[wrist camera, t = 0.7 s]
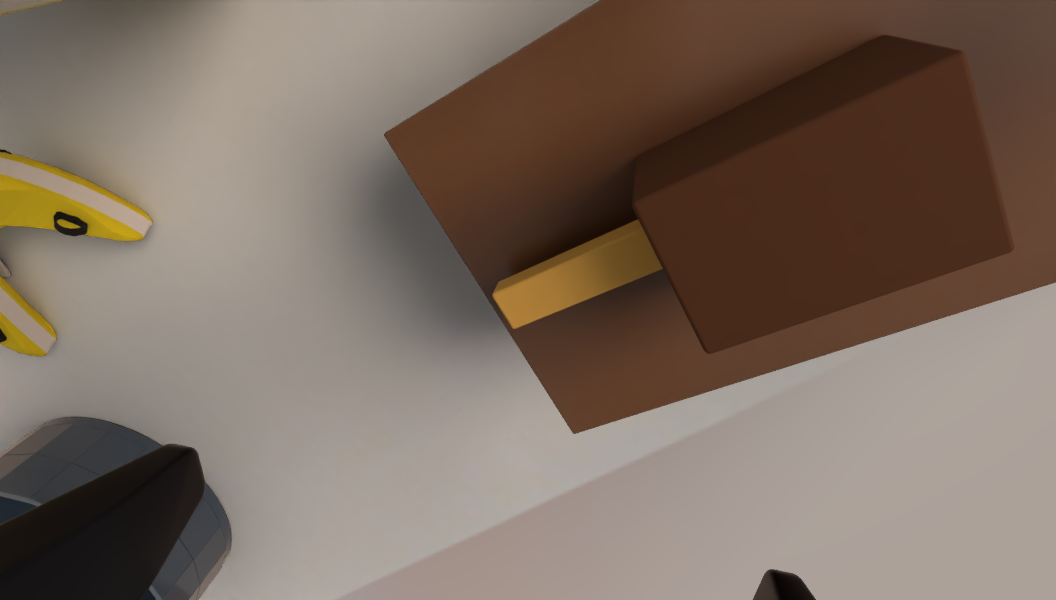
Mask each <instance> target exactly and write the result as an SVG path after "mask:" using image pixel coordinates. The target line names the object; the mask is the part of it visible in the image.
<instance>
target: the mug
mask: <svg viewBox="0 0 1056 600" xmlns="http://www.w3.org/2000/svg"><path fill="white" fill-rule="evenodd" d="M59 1H63V0H0V15H4V14H8V13H13V12H17V11H21V10H25V9H30V8H34V7H38V6H42V5H47V4H51V3H55V2H59Z"/></svg>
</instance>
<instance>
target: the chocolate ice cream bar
mask: <svg viewBox="0 0 1056 600" xmlns="http://www.w3.org/2000/svg"><path fill="white" fill-rule="evenodd" d="M632 208H633V210H634V212H635V214H636V216H637V218H638V220H635V221H633V222H631V223H629V224H626V225H624V226H622V227H620V228H617V229H615V230H613V231H611V232H609V233H606V234H604V235H602V236H600V237H597V238H595V239H593V240H591V241H588V242H586V243H584V244H582V245H580V246H577V247H575V248H573V249H571V250H568V251H566V252H564V253H562V254H560V255H557V256H555V257H553V258H551V259H548V260H546V261H544V262H542V263H539V264H537V265H535V266H533V267H531V268H528V269H526V270H524V271H522V272H519V273H517V274H515V275H513V276H511V277H508V278H506V279H504V280H502V281H499V282H498V284H497V286H496V288H495V290H494V292H493V294H492V295H493V298H494V300H495V301H496V303H497V304H498V306H499V308H500V309H501V311H502V312H503V314H504V316H505V317H506V319H507V320H508V322H509V323H510V325H511V327H512V328H513V329H516V328H518V327H521V326H523V325H526V324H528V323H531V322H533V321H536V320H538V319H541V318H543V317H545V316H548V315H550V314H553V313H555V312H558V311H560V310H563V309H565V308H568V307H570V306H572V305H575V304H577V303H580V302H582V301H585V300H587V299H590V298H592V297H594V296H597V295H599V294H602V293H604V292H607V291H609V290H612V289H614V288H617V287H619V286H621V285H624V284H626V283H629V282H631V281H634V280H636V279H639V278H641V277H644V276H646V275H648V274H651V273H653V272H656V271H658V270H661V269H663V270H664V272H665V274H666V276H667V278H668V280H669V282H670V284H671V286H672V288H673V290H674V292H675V294H676V296H677V298H678V300H679V302H680V304H681V306H682V308H683V310H684V312H685V314H686V316H687V318H688V320H689V322H690V324H691V326H692V328H693V330H694V332H695V334H696V336H697V338H698V340H699V342H700V344H701V346H702V348H703V350H704V351H705V352H706V353H707V354H712V353H715V352H718V351H721V350H724V349H727V348H730V347H733V346H736V345H739V344H742V343H745V342H748V341H751V340H754V339H757V338H760V337H763V336H765V335H768V334H771V333H774V332H777V331H780V330H783V329H786V328H789V327H792V326H795V325H798V324H801V323H804V322H807V321H810V320H813V319H816V318H819V317H822V316H824V315H827V314H830V313H833V312H836V311H839V310H842V309H845V308H848V307H851V306H854V305H857V304H860V303H863V302H866V301H869V300H872V299H875V298H878V297H881V296H883V295H886V294H889V293H892V292H895V291H898V290H901V289H904V288H907V287H910V286H913V285H916V284H919V283H922V282H925V281H928V280H931V279H934V278H937V277H940V276H942V275H945V274H948V273H951V272H954V271H957V270H960V269H963V268H966V267H969V266H972V265H975V264H978V263H981V262H984V261H987V260H990V259H993V258H996V257H999V256H1001V255H1004V254H1007V253H1010V252H1012V251H1013V250H1014V243H1013V239H1012V235H1011V231H1010V227H1009V223H1008V219H1007V215H1006V211H1005V207H1004V203H1003V199H1002V195H1001V191H1000V187H999V183H998V179H997V175H996V171H995V167H994V163H993V159H992V155H991V151H990V147H989V143H988V139H987V135H986V131H985V127H984V123H983V119H982V115H981V111H980V107H979V103H978V99H977V95H976V91H975V87H974V83H973V79H972V75H971V71H970V67H969V63H968V59H967V55H966V53H965V52H964V51H963V50H958V49H953V48H949V47H944V46H939V45H934V44H930V43H925V42H920V41H915V40H911V39H906V38H901V37H896V36H892V35H882V36H880V37H878V38H876V39H874V40H872V41H870V42H868V43H866V44H864V45H861V46H859V47H857V48H855V49H853V50H851V51H849V52H847V53H845V54H843V55H841V56H839V57H837V58H835V59H833V60H831V61H829V62H827V63H825V64H823V65H821V66H819V67H817V68H815V69H813V70H811V71H809V72H807V73H805V74H803V75H801V76H799V77H797V78H795V79H792V80H790V81H788V82H786V83H784V84H782V85H780V86H778V87H776V88H774V89H772V90H770V91H768V92H766V93H764V94H762V95H760V96H758V97H756V98H754V99H752V100H750V101H748V102H746V103H744V104H742V105H740V106H738V107H736V108H734V109H732V110H730V111H728V112H726V113H723V114H721V115H719V116H717V117H715V118H713V119H711V120H709V121H707V122H705V123H703V124H701V125H699V126H697V127H695V128H693V129H691V130H689V131H687V132H685V133H683V134H681V135H679V136H677V137H675V138H673V139H671V140H669V141H667V142H665V143H663V144H661V145H659V146H657V147H654V148H652V149H650V150H648V151H646V152H644V153H642V154H640V155H638V156H637V157H636V158H635V171H634V184H633V198H632Z"/></svg>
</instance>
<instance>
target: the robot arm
mask: <svg viewBox="0 0 1056 600" xmlns="http://www.w3.org/2000/svg"><path fill="white" fill-rule="evenodd" d="M204 491H205V479H204V475H203V471H202V467H201V464H200V460H199V456H198V453H197V451H196V450H195V449H194V448H192V447H187V446H183V445H178V444H167V445H165V446H162V447H160V448H158V449H156V450H154V451H152V452H150V453H147V454H145V455H143V456H141V457H139V458H137V459H135V460H133V461H131V462H129V463H127V464H125V465H123V466H120V467H118V468H116V469H114V470H112V471H110V472H108V473H106V474H104V475H102V476H100V477H98V478H95V479H93V480H91V481H89V482H87V483H85V484H83V485H81V486H79V487H77V488H75V489H73V490H71V491H68V492H66V493H64V494H62V495H60V496H58V497H56V498H54V499H52V500H50V501H48V502H46V503H43V504H41V505H39V506H37V507H35V508H33V509H31V510H29V511H27V512H25V513H23V514H21V515H19V516H16V517H14V518H12V519H10V520H8V521H6V522H4V523H2V524H0V600H142V598H143V597H144V595H145V594H146V592H147V591H148V589H149V588H150V586H151V585H152V583H153V581H154V580H155V578H156V577H157V575H158V573H159V572H160V570H161V568H162V566H163V565H164V563H165V561H166V560H167V558H168V556H169V554H170V553H171V551H172V549H173V548H174V546H175V544H176V542H177V541H178V539H179V537H180V535H181V534H182V532H183V530H184V529H185V527H186V525H187V523H188V522H189V520H190V518H191V517H192V515H193V513H194V511H195V510H196V508H197V506H198V504H199V503H200V501H201V499H202V497H203V494H204ZM753 600H816V599H815V598H814V596H813V595H812V594H811V592H810V591H809V589H808V588H807V586H806V585H805V584H804V582H803V581H802V580H801V578H799V577H798V576H797V575H795V574H793V573H788V572H783V571H778V570H774V569H770V570H768V571H767V572H766V573H765V574H764V576H763V578H762V581H761V583H760V585H759V587H758V589H757V592H756V594H755V596H754V598H753Z"/></svg>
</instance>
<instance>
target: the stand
mask: <svg viewBox="0 0 1056 600" xmlns="http://www.w3.org/2000/svg"><path fill="white" fill-rule="evenodd" d="M882 35H892V36H896V37H901V38H906V39H911V40H915V41H920V42H925V43H930V44H934V45H939V46H944V47H949V48H953V49H958V50H963V51H964V52H965V53H966V55H967V59H968V63H969V67H970V71H971V75H972V79H973V83H974V87H975V91H976V95H977V99H978V103H979V107H980V111H981V115H982V119H983V123H984V127H985V131H986V135H987V139H988V143H989V147H990V151H991V155H992V159H993V163H994V167H995V171H996V175H997V179H998V183H999V187H1000V191H1001V195H1002V199H1003V203H1004V207H1005V211H1006V215H1007V219H1008V223H1009V227H1010V231H1011V235H1012V239H1013V243H1014V250H1013V251H1012V252H1010V253H1007V254H1004V255H1001V256H999V257H996V258H993V259H990V260H987V261H984V262H981V263H978V264H975V265H972V266H969V267H966V268H963V269H960V270H957V271H954V272H951V273H948V274H945V275H942V276H940V277H937V278H934V279H931V280H928V281H925V282H922V283H919V284H916V285H913V286H910V287H907V288H904V289H901V290H898V291H895V292H892V293H889V294H886V295H883V296H881V297H878V298H875V299H872V300H869V301H866V302H863V303H860V304H857V305H854V306H851V307H848V308H845V309H842V310H839V311H836V312H833V313H830V314H827V315H824V316H822V317H819V318H816V319H813V320H810V321H807V322H804V323H801V324H798V325H795V326H792V327H789V328H786V329H783V330H780V331H777V332H774V333H771V334H768V335H765V336H763V337H760V338H757V339H754V340H751V341H748V342H745V343H742V344H739V345H736V346H733V347H730V348H727V349H724V350H721V351H718V352H715V353H712V354H707V353H706V352H705V351H704V350H703V348H702V346H701V344H700V342H699V340H698V338H697V336H696V334H695V332H694V330H693V328H692V326H691V324H690V322H689V320H688V318H687V316H686V314H685V312H684V310H683V308H682V306H681V304H680V302H679V300H678V298H677V296H676V294H675V292H674V290H673V288H672V286H671V284H670V282H669V280H668V278H667V276H666V274H665V272H664V270H663V269H661V270H658V271H656V272H653V273H651V274H648V275H646V276H644V277H641V278H639V279H636V280H634V281H631V282H629V283H626V284H624V285H621V286H619V287H617V288H614V289H612V290H609V291H607V292H604V293H602V294H599V295H597V296H594V297H592V298H590V299H587V300H585V301H582V302H580V303H577V304H575V305H572V306H570V307H568V308H565V309H563V310H560V311H558V312H555V313H553V314H550V315H548V316H545V317H543V318H541V319H538V320H536V321H533V322H531V323H528V324H526V325H523V326H521V327H518V328H516V329H513V328H512V327H511V325H510V323H509V322H508V320H507V319H506V317H505V316H504V314H503V312H502V311H501V309H500V308H499V306H498V304H497V303H496V301H495V300H494V298H493V295H492V294H493V292H494V290H495V288H496V286H497V284H498V282H499V281H502V280H504V279H506V278H508V277H511V276H513V275H515V274H517V273H519V272H522V271H524V270H526V269H528V268H531V267H533V266H535V265H537V264H539V263H542V262H544V261H546V260H548V259H551V258H553V257H555V256H557V255H560V254H562V253H564V252H566V251H568V250H571V249H573V248H575V247H577V246H580V245H582V244H584V243H586V242H588V241H591V240H593V239H595V238H597V237H600V236H602V235H604V234H606V233H609V232H611V231H613V230H615V229H617V228H620V227H622V226H624V225H626V224H629V223H631V222H633V221H635V220H638V218H637V216H636V214H635V212H634V210H633V208H632V198H633V184H634V171H635V158H636V157H637V156H638V155H640V154H642V153H644V152H646V151H648V150H650V149H652V148H654V147H657V146H659V145H661V144H663V143H665V142H667V141H669V140H671V139H673V138H675V137H677V136H679V135H681V134H683V133H685V132H687V131H689V130H691V129H693V128H695V127H697V126H699V125H701V124H703V123H705V122H707V121H709V120H711V119H713V118H715V117H717V116H719V115H721V114H723V113H726V112H728V111H730V110H732V109H734V108H736V107H738V106H740V105H742V104H744V103H746V102H748V101H750V100H752V99H754V98H756V97H758V96H760V95H762V94H764V93H766V92H768V91H770V90H772V89H774V88H776V87H778V86H780V85H782V84H784V83H786V82H788V81H790V80H792V79H795V78H797V77H799V76H801V75H803V74H805V73H807V72H809V71H811V70H813V69H815V68H817V67H819V66H821V65H823V64H825V63H827V62H829V61H831V60H833V59H835V58H837V57H839V56H841V55H843V54H845V53H847V52H849V51H851V50H853V49H855V48H857V47H859V46H861V45H864V44H866V43H868V42H870V41H872V40H874V39H876V38H878V37H880V36H882ZM384 136H385V138H386V139H387V141H388V143H389V144H390V146H391V147H392V149H393V150H394V152H395V154H396V155H397V157H398V158H399V160H400V161H401V163H402V165H403V166H404V168H405V169H406V171H407V172H408V174H409V176H410V177H411V179H412V180H413V182H414V184H415V185H416V187H417V188H418V190H419V191H420V193H421V195H422V196H423V198H424V199H425V201H426V202H427V204H428V206H429V207H430V209H431V210H432V212H433V213H434V215H435V217H436V218H437V220H438V221H439V223H440V224H441V226H442V228H443V229H444V231H445V232H446V234H447V235H448V237H449V239H450V240H451V242H452V243H453V245H454V247H455V248H456V250H457V251H458V253H459V254H460V256H461V258H462V259H463V261H464V262H465V264H466V265H467V267H468V269H469V270H470V272H471V273H472V275H473V276H474V278H475V280H476V281H477V283H478V284H479V286H480V287H481V289H482V291H483V292H484V294H485V295H486V297H487V299H488V300H489V302H490V303H491V305H492V306H493V308H494V310H495V311H496V313H497V314H498V316H499V317H500V319H501V321H502V322H503V324H504V325H505V327H506V328H507V330H508V332H509V333H510V335H511V336H512V338H513V339H514V341H515V343H516V344H517V346H518V347H519V349H520V351H521V352H522V354H523V355H524V357H525V358H526V360H527V362H528V363H529V365H530V366H531V368H532V369H533V371H534V373H535V374H536V376H537V377H538V379H539V380H540V382H541V384H542V385H543V387H544V388H545V390H546V391H547V393H548V395H549V396H550V398H551V399H552V401H553V403H554V404H555V406H556V407H557V409H558V410H559V412H560V414H561V415H562V417H563V418H564V420H565V421H566V423H567V425H568V426H569V428H570V429H571V431H572V432H573V434H576V433H579V432H582V431H585V430H588V429H591V428H595V427H598V426H601V425H604V424H607V423H610V422H614V421H617V420H620V419H623V418H626V417H630V416H633V415H636V414H639V413H642V412H645V411H649V410H652V409H655V408H658V407H661V406H664V405H668V404H671V403H674V402H677V401H680V400H684V399H687V398H690V397H693V396H696V395H699V394H703V393H706V392H709V391H712V390H715V389H718V388H722V387H725V386H728V385H731V384H734V383H738V382H741V381H744V380H747V379H750V378H753V377H757V376H760V375H763V374H766V373H769V372H772V371H776V370H779V369H782V368H785V367H788V366H792V365H795V364H798V363H801V362H804V361H807V360H811V359H814V358H817V357H820V356H823V355H826V354H830V353H833V352H836V351H839V350H842V349H846V348H849V347H852V346H855V345H858V344H861V343H865V342H868V341H871V340H874V339H877V338H880V337H884V336H887V335H890V334H893V333H896V332H900V331H903V330H906V329H909V328H912V327H915V326H919V325H922V324H925V323H928V322H931V321H934V320H938V319H941V318H944V317H947V316H950V315H954V314H957V313H960V312H963V311H966V310H969V309H973V308H976V307H979V306H982V305H985V304H988V303H991V302H995V301H998V300H1001V299H1004V298H1007V297H1011V296H1014V295H1017V294H1020V293H1023V292H1026V291H1029V290H1033V289H1036V288H1039V287H1042V286H1046V285H1049V284H1052V283H1055V282H1056V0H600V1H598V2H597V3H595V4H593V5H592V6H590V7H588V8H587V9H585V10H584V11H582V12H580V13H579V14H577V15H575V16H574V17H572V18H571V19H569V20H567V21H566V22H564V23H562V24H561V25H559V26H558V27H556V28H554V29H553V30H551V31H549V32H548V33H546V34H545V35H543V36H541V37H540V38H538V39H536V40H535V41H533V42H532V43H530V44H528V45H527V46H525V47H523V48H522V49H520V50H519V51H517V52H515V53H514V54H512V55H510V56H509V57H507V58H506V59H504V60H502V61H501V62H499V63H497V64H496V65H494V66H493V67H491V68H489V69H488V70H486V71H484V72H483V73H481V74H480V75H478V76H476V77H475V78H473V79H471V80H470V81H468V82H467V83H465V84H463V85H462V86H460V87H458V88H457V89H455V90H454V91H452V92H450V93H449V94H447V95H446V96H444V97H442V98H441V99H439V100H437V101H436V102H434V103H433V104H431V105H429V106H428V107H426V108H424V109H423V110H421V111H420V112H418V113H416V114H415V115H413V116H411V117H410V118H408V119H407V120H405V121H403V122H402V123H400V124H398V125H397V126H395V127H394V128H392V129H390V130H389V131H387V132H385V134H384Z"/></svg>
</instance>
